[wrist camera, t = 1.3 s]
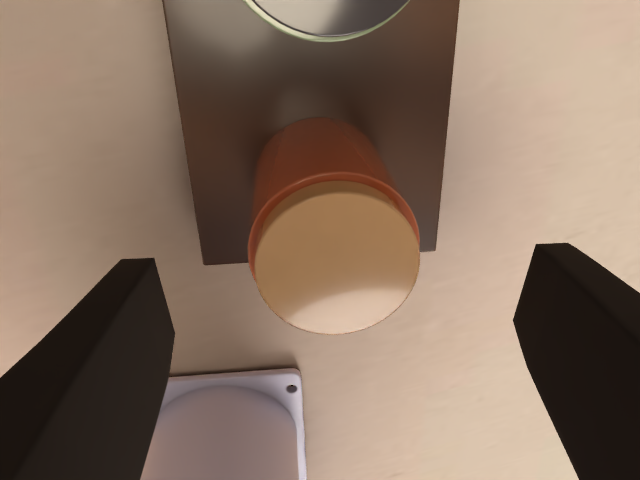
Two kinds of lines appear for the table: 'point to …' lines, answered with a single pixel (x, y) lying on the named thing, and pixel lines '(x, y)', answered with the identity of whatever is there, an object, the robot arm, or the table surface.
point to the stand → (306, 104)
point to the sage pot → (326, 17)
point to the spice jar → (330, 229)
